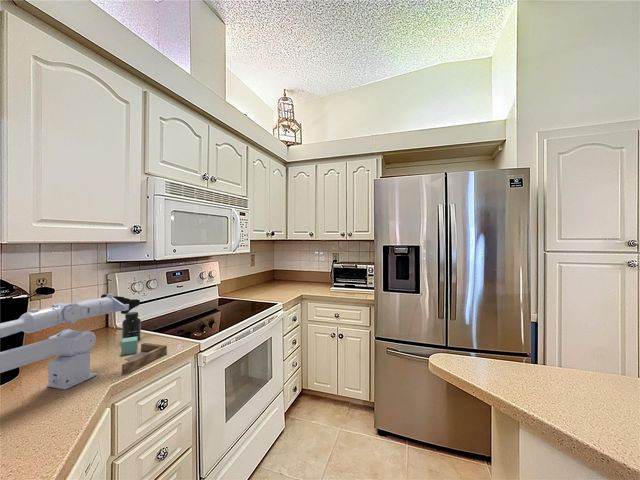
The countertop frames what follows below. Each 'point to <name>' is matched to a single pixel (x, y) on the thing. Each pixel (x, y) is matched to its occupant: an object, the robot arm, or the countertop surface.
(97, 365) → the countertop surface
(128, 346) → the cube
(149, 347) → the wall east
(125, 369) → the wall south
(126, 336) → the supplement bottle
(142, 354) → the mat
